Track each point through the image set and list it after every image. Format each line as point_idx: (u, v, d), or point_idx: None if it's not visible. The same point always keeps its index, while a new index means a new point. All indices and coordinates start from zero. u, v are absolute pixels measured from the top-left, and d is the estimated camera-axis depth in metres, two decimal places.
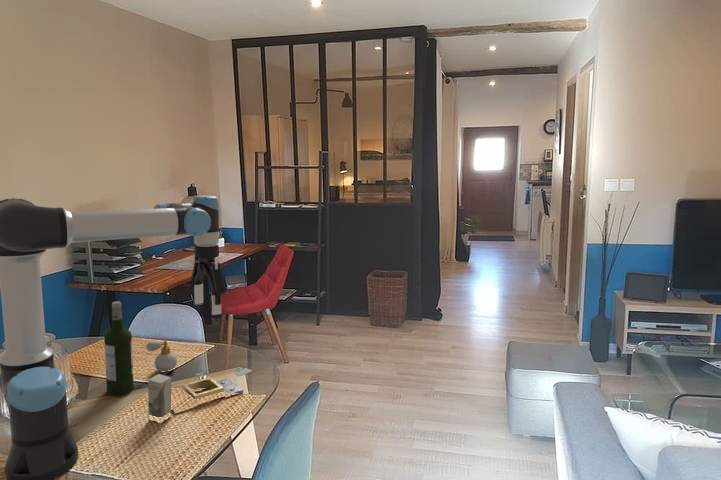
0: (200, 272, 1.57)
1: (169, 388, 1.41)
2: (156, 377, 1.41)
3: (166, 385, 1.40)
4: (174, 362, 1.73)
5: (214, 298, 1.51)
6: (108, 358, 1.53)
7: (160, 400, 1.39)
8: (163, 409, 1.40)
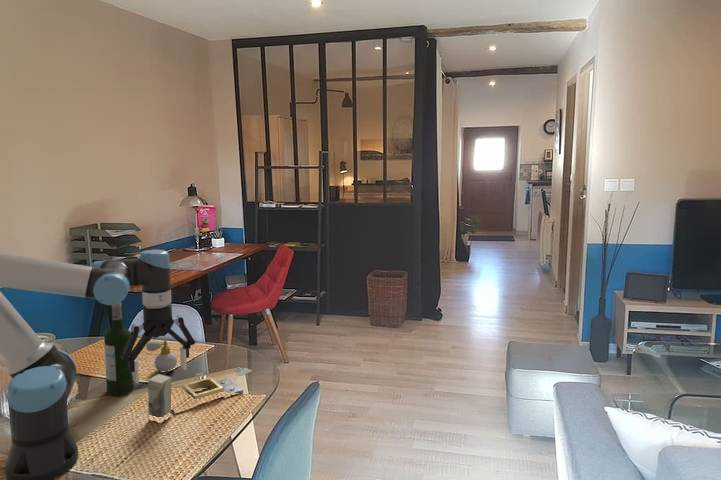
0: None
1: (169, 388, 1.41)
2: (156, 377, 1.41)
3: (166, 385, 1.40)
4: (174, 362, 1.73)
5: None
6: (108, 358, 1.53)
7: (160, 400, 1.39)
8: (163, 409, 1.40)
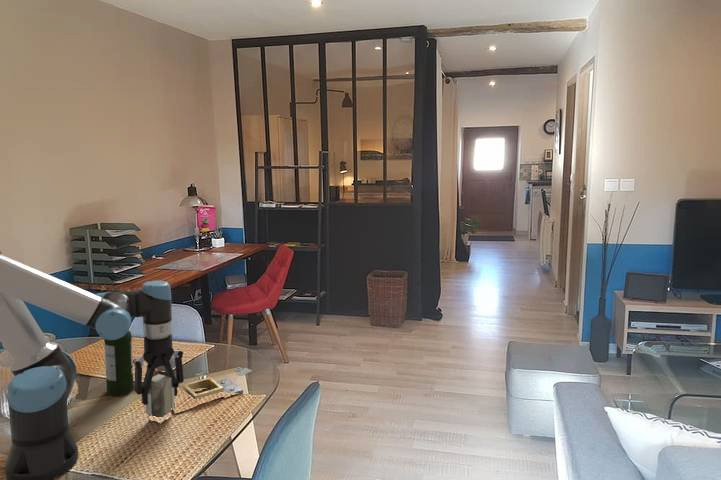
0: (164, 366, 1.42)
1: (169, 388, 1.41)
2: (156, 377, 1.41)
3: (166, 385, 1.40)
4: (174, 362, 1.73)
5: None
6: (108, 358, 1.53)
7: (160, 400, 1.39)
8: (163, 409, 1.40)
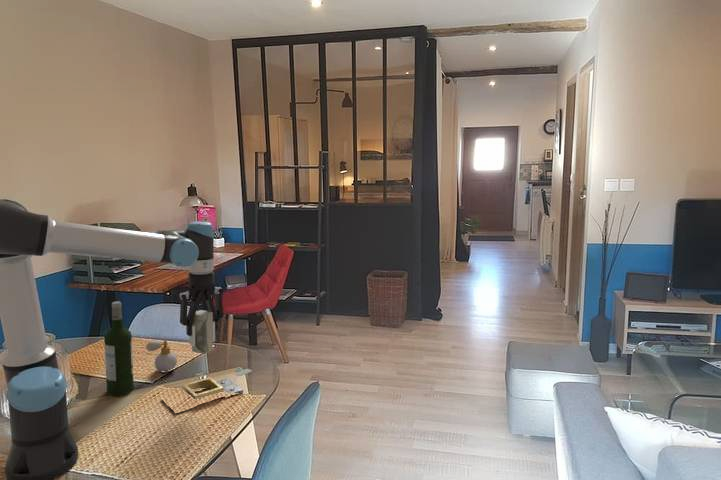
0: (206, 302, 1.54)
1: (211, 322, 1.53)
2: (199, 312, 1.52)
3: (208, 318, 1.51)
4: (174, 362, 1.73)
5: None
6: (108, 358, 1.53)
7: (203, 332, 1.51)
8: (206, 341, 1.52)
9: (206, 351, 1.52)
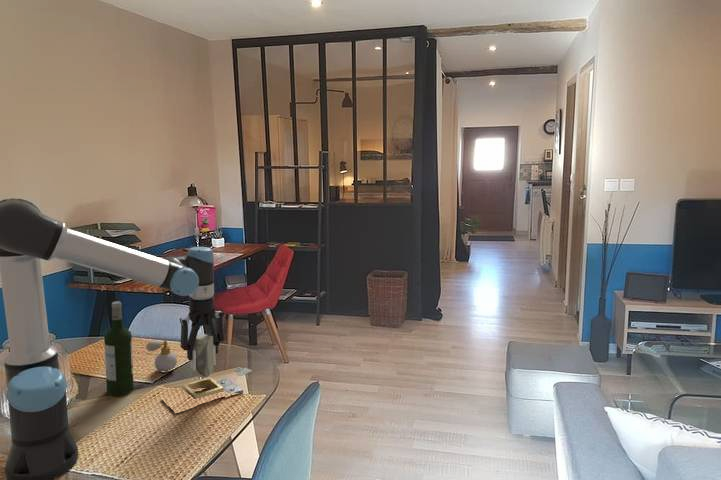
0: (206, 325, 1.55)
1: (211, 346, 1.54)
2: (199, 336, 1.54)
3: (209, 342, 1.53)
4: (174, 362, 1.73)
5: None
6: (108, 358, 1.53)
7: (204, 356, 1.52)
8: (206, 365, 1.53)
9: (207, 375, 1.54)
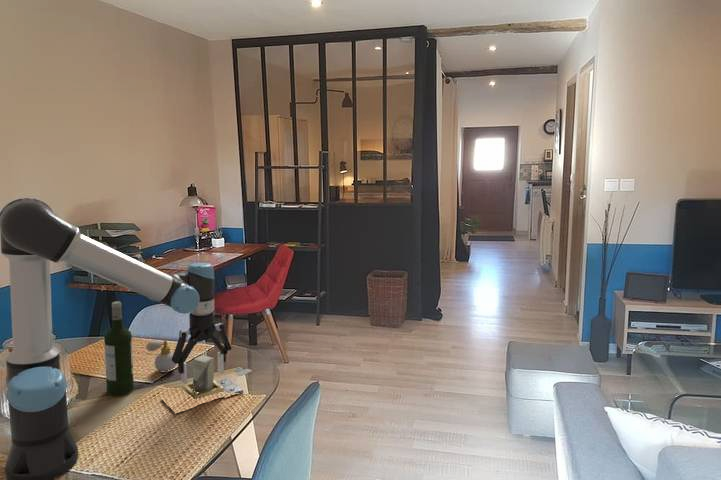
0: (210, 339, 1.56)
1: (212, 368, 1.56)
2: (201, 357, 1.55)
3: (210, 364, 1.54)
4: None
5: None
6: (108, 358, 1.53)
7: (204, 378, 1.53)
8: (206, 387, 1.54)
9: None
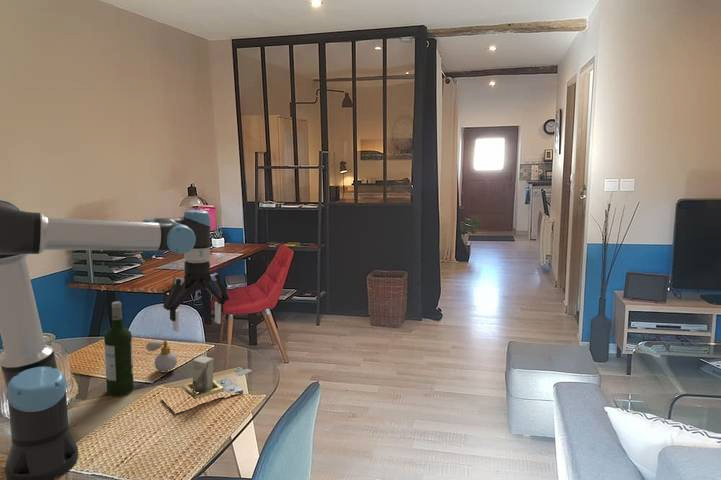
0: None
1: (211, 368, 1.55)
2: (200, 358, 1.55)
3: (209, 365, 1.54)
4: (174, 362, 1.73)
5: None
6: (108, 358, 1.53)
7: (203, 379, 1.53)
8: (206, 387, 1.54)
9: None
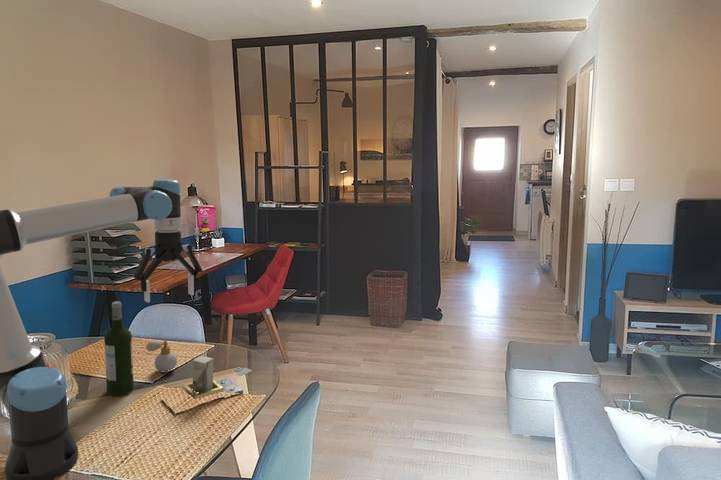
0: (178, 260, 1.52)
1: (211, 368, 1.55)
2: (200, 358, 1.55)
3: (209, 365, 1.54)
4: (174, 362, 1.73)
5: None
6: (108, 358, 1.53)
7: (203, 379, 1.53)
8: (206, 387, 1.54)
9: None
